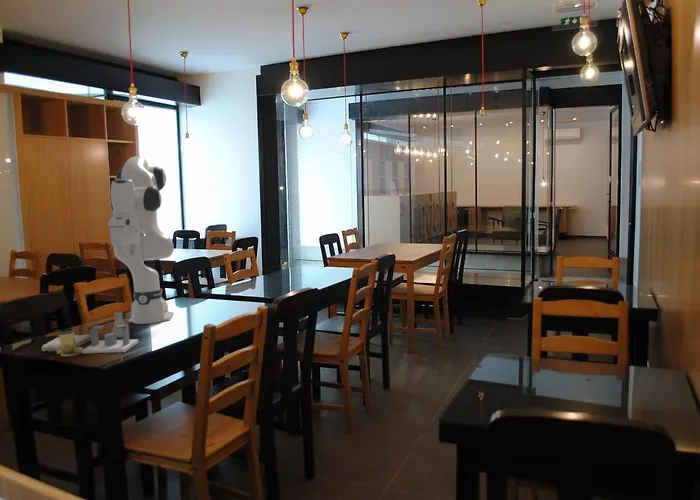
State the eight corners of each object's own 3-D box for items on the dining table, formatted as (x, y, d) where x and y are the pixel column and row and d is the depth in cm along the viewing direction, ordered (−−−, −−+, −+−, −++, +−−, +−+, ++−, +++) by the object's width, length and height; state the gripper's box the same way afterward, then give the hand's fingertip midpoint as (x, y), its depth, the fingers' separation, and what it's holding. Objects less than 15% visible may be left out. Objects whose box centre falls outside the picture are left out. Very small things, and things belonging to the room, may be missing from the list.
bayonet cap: (62, 351, 222) (58, 331, 221) (85, 348, 221) (81, 328, 220) (54, 355, 217) (50, 335, 216) (78, 352, 216) (74, 332, 215)
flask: (123, 338, 239) (121, 314, 238) (107, 338, 241) (105, 314, 240) (133, 334, 246) (131, 310, 245) (117, 334, 248) (115, 310, 247)
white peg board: (98, 343, 233) (96, 322, 232) (138, 342, 232) (137, 321, 231) (81, 353, 219) (79, 331, 218) (124, 352, 218) (122, 329, 217)
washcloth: (92, 340, 241) (92, 332, 241) (72, 352, 223) (71, 344, 223) (63, 341, 241) (63, 333, 241) (41, 353, 223) (40, 345, 223)
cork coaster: (66, 351, 222) (66, 350, 222) (84, 350, 222) (84, 349, 222) (57, 356, 215) (56, 355, 215) (75, 356, 215) (75, 355, 215)
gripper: (127, 219, 239) (130, 253, 240) (105, 222, 218) (108, 259, 220) (143, 219, 238) (145, 252, 240) (122, 221, 218) (125, 258, 220)
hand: (127, 256), depth 230 cm, fingers open, 8 cm apart
